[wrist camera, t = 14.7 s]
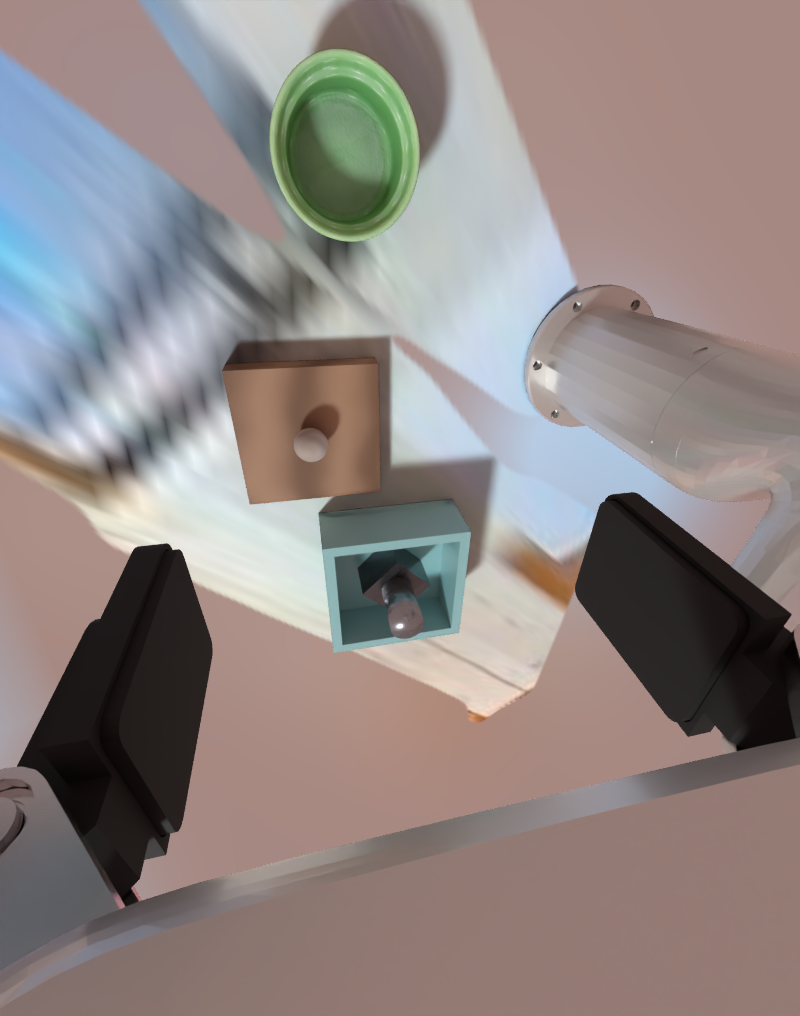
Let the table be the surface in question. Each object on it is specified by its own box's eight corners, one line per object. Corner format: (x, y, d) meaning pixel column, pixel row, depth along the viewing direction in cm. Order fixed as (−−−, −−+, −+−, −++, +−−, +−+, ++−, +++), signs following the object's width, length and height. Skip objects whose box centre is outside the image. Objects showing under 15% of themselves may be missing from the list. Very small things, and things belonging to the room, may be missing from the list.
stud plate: (374, 357, 37) (384, 373, 33) (377, 481, 44) (385, 507, 40) (225, 363, 35) (217, 382, 31) (251, 493, 42) (247, 521, 38)
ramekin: (302, 255, 32) (303, 260, 29) (247, 93, 27) (241, 74, 24) (418, 218, 33) (433, 218, 29) (385, 51, 27) (400, 25, 24)
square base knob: (389, 537, 47) (408, 599, 39) (420, 559, 49) (444, 621, 42) (357, 567, 48) (370, 632, 40) (389, 587, 50) (406, 652, 43)
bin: (452, 499, 47) (471, 531, 42) (443, 595, 54) (459, 632, 49) (318, 513, 44) (322, 549, 39) (329, 612, 52) (333, 653, 47)
